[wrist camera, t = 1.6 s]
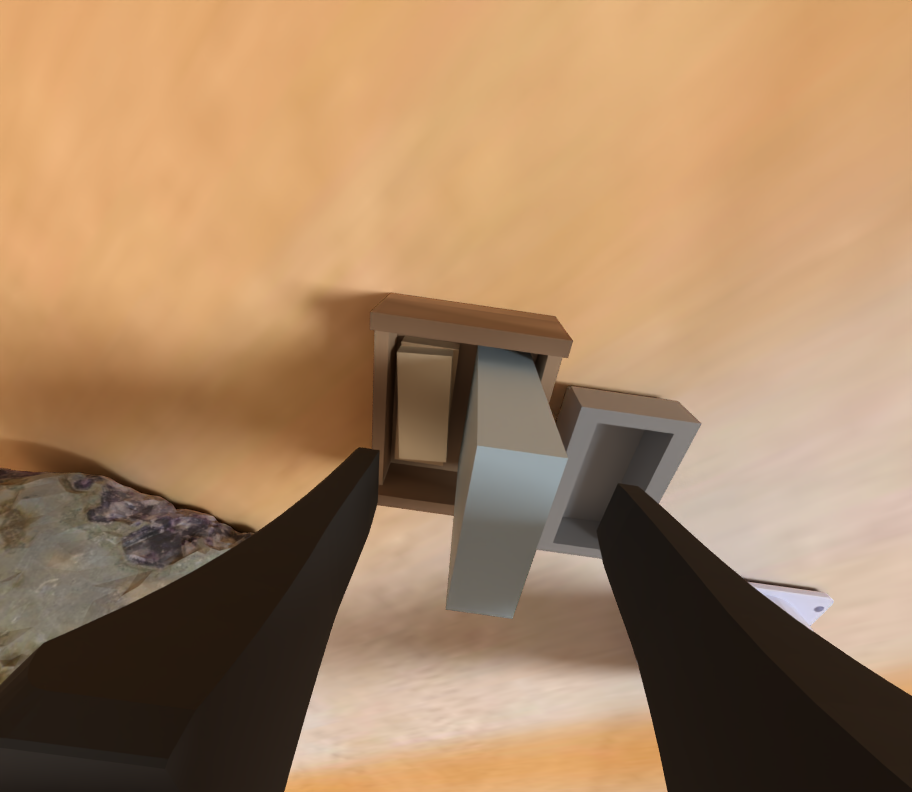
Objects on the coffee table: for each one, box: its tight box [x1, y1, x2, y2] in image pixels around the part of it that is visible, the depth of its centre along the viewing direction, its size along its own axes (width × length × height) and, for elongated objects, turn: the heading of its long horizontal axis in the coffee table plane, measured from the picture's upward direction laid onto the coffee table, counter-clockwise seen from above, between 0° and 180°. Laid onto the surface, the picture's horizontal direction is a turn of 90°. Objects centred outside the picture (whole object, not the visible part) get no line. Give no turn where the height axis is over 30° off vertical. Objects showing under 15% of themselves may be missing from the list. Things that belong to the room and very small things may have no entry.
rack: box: [370, 293, 573, 516], centre depth 15 cm, size 8×7×3 cm
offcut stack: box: [395, 336, 460, 466], centre depth 15 cm, size 6×2×1 cm, turn 173°
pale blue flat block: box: [446, 345, 568, 619], centre depth 12 cm, size 6×2×7 cm, turn 173°
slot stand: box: [536, 386, 701, 559], centre depth 16 cm, size 8×5×2 cm, turn 173°
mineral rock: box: [0, 468, 254, 684], centre depth 16 cm, size 13×11×10 cm
